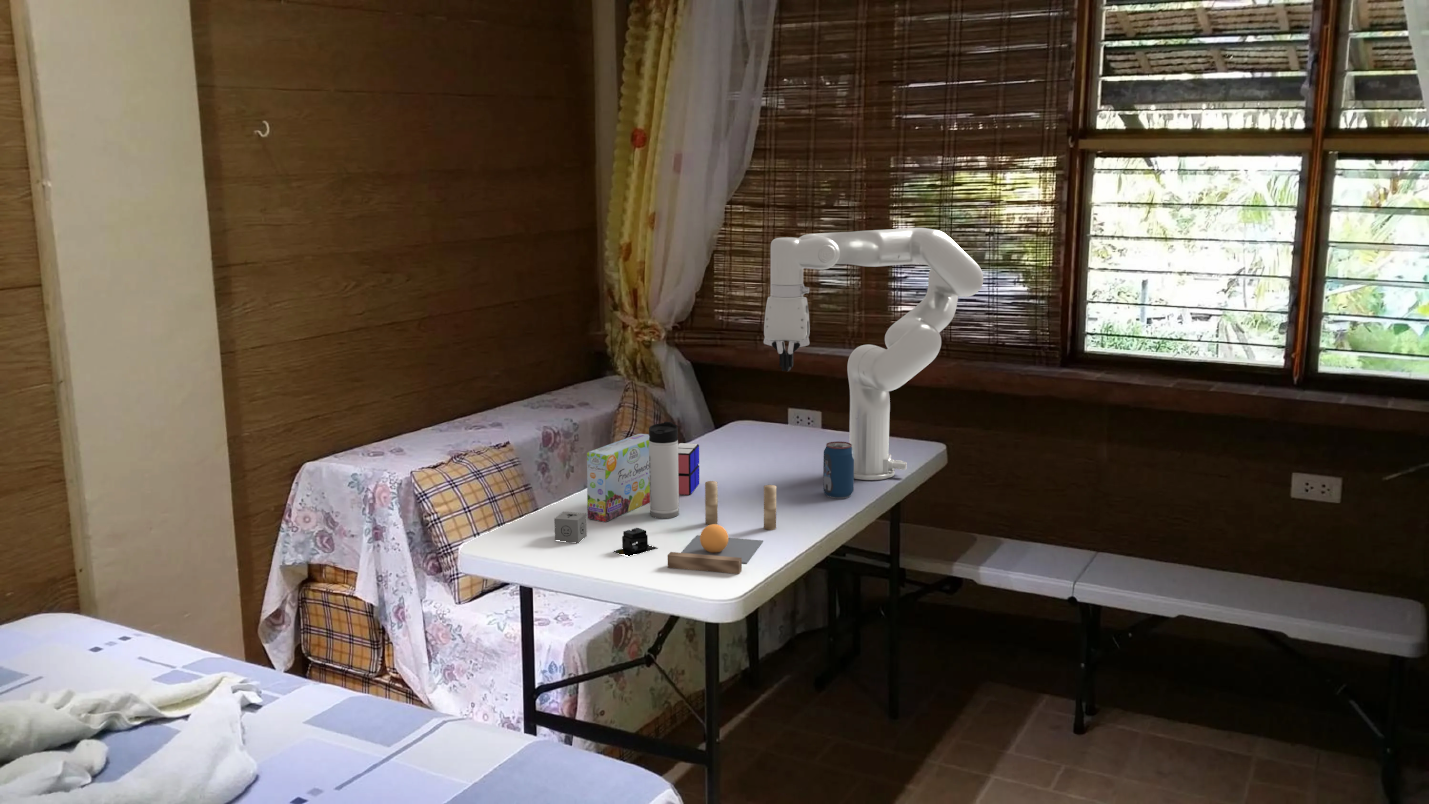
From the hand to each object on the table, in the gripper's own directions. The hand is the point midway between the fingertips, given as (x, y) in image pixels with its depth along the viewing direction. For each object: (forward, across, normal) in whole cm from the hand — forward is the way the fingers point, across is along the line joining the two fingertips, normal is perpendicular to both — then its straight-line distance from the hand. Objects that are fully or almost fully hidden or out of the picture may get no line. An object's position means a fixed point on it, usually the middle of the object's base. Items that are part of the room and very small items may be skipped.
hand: (786, 369), depth 289 cm
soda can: (+27, -14, +8) cm, 32 cm away
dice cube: (+27, +34, +53) cm, 68 cm away
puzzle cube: (+27, +24, +12) cm, 38 cm away
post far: (+27, +8, +36) cm, 46 cm away
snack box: (+27, +30, +30) cm, 51 cm away
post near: (+27, -4, +36) cm, 45 cm away
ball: (+24, +3, +54) cm, 59 cm away
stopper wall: (+27, +2, +64) cm, 70 cm away
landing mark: (+27, +2, +52) cm, 59 cm away
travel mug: (+27, +20, +32) cm, 47 cm away
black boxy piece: (+28, +18, +56) cm, 66 cm away
